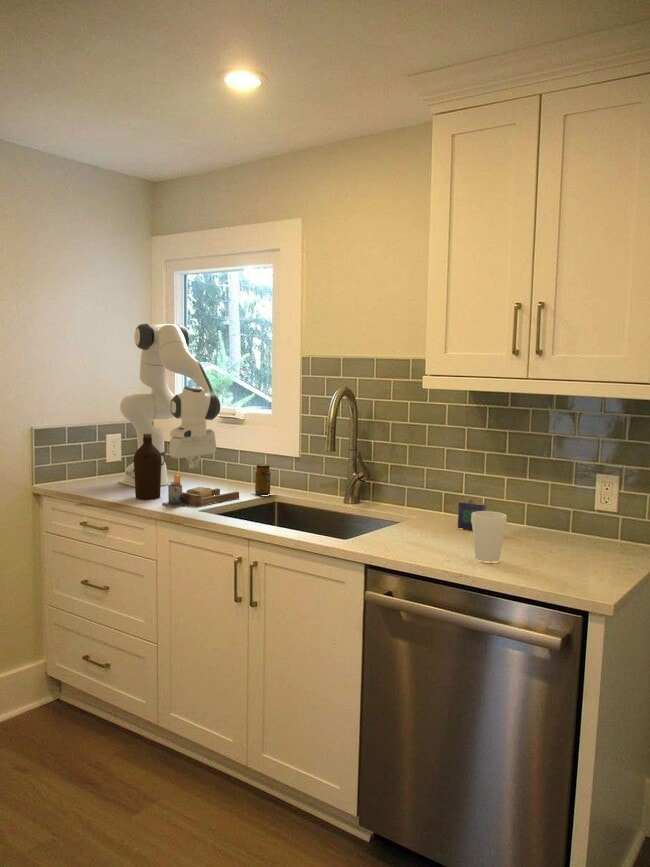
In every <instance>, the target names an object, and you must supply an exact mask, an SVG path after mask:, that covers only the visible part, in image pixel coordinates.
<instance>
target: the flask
mask: <svg viewBox="0 0 650 867" xmlns="http://www.w3.org/2000/svg"><path fill="white" fill-rule="evenodd" d="M469 499H470V500H466V499H465V500H459V502H458V511H457V514H458V515H457V516H458V517H457V529H458V528H463V529H469V530H468V531H471V530H473V528H472V522H471V514H472V513H473V512H476V511H487V510H486V509H487V504H485V503H479V502H478V503H477V502H475V499H476V498H475V497H469ZM463 529H462V530H463Z"/></svg>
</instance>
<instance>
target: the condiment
mask: <svg viewBox="0 0 650 867" xmlns="http://www.w3.org/2000/svg"><path fill="white" fill-rule="evenodd" d="M270 467H271V466H270V465H269V464H264V463H263V464H257V465H256V472H255V477H254V478H255V484H254V486H255V487H254V491H255V492H252V493H250V494H251V495H253V496H258V495H268V494H271V474H272V473H271V472H270Z"/></svg>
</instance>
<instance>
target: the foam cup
mask: <svg viewBox="0 0 650 867" xmlns="http://www.w3.org/2000/svg"><path fill="white" fill-rule="evenodd" d="M507 519H508V515H507V514H505V513H503V512H500V511H498V512H497V511H491V510H486V511H476V512H473V513H472V514H471V522H472V528H473V531H472V538H473V546H474V548H473V549H474V558H475V560H476V559H478V560H482V561H490V562H492V561H498V560H499V561H500V559H501V558H500V557H501V554H502V547H503V543H504V534H505V532H506V531H505V530H506V525H507Z"/></svg>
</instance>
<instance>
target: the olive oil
mask: <svg viewBox="0 0 650 867" xmlns="http://www.w3.org/2000/svg"><path fill="white" fill-rule="evenodd" d="M143 436H144V437H143V444H142V446H141V447H140V448H139V449H138V448H137V450H136V451H135V452H134V453H135V454H134V455H133V462H134V475H135V487H134V490H135V491H134V492H135V493H134V494H135V499H137V500H141V501H151V499H153V500H158V499H160V498H161V489H162V488H161V487H162V486H161V464H162V457H161V454H160V452H159V451H158V450H157V449H156V447H155V446H154V445H153V444H152V434H143ZM157 498H158V499H157Z"/></svg>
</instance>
